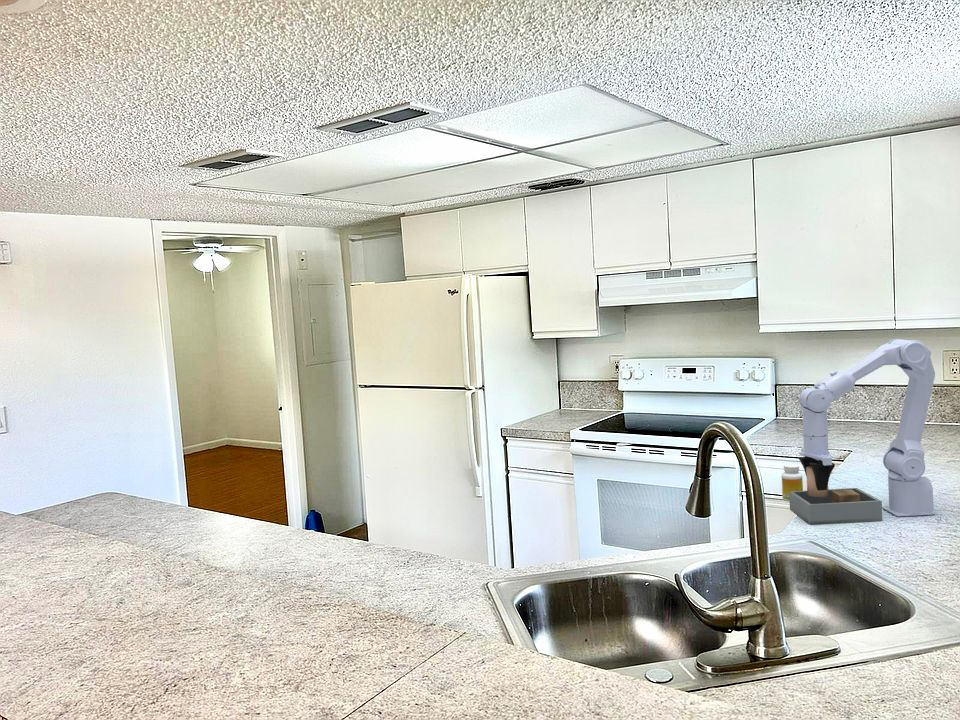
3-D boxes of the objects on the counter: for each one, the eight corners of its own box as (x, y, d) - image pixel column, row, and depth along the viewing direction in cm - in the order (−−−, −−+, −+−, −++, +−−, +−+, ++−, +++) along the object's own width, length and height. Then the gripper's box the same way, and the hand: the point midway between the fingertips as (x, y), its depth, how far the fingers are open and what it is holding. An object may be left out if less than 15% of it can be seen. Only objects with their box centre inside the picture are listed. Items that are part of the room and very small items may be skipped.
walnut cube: (851, 508, 196) (851, 489, 195) (860, 513, 191) (859, 494, 190) (832, 509, 196) (831, 490, 196) (840, 514, 191) (839, 495, 191)
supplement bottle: (805, 502, 207) (803, 467, 206) (784, 502, 208) (783, 467, 207) (801, 497, 212) (799, 463, 212) (780, 497, 213) (779, 463, 213)
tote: (857, 506, 200) (856, 487, 200) (882, 521, 186) (881, 501, 186) (789, 510, 201) (789, 491, 200) (810, 524, 187) (809, 505, 187)
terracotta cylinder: (824, 491, 196) (823, 465, 195) (831, 496, 191) (830, 469, 190) (804, 492, 196) (803, 466, 196) (811, 497, 191) (810, 470, 191)
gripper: (789, 431, 200) (791, 481, 201) (810, 440, 185) (812, 495, 186) (816, 429, 199) (818, 479, 200) (840, 439, 185) (841, 493, 186)
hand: (817, 487), depth 193 cm, fingers closed on terracotta cylinder, 5 cm apart
